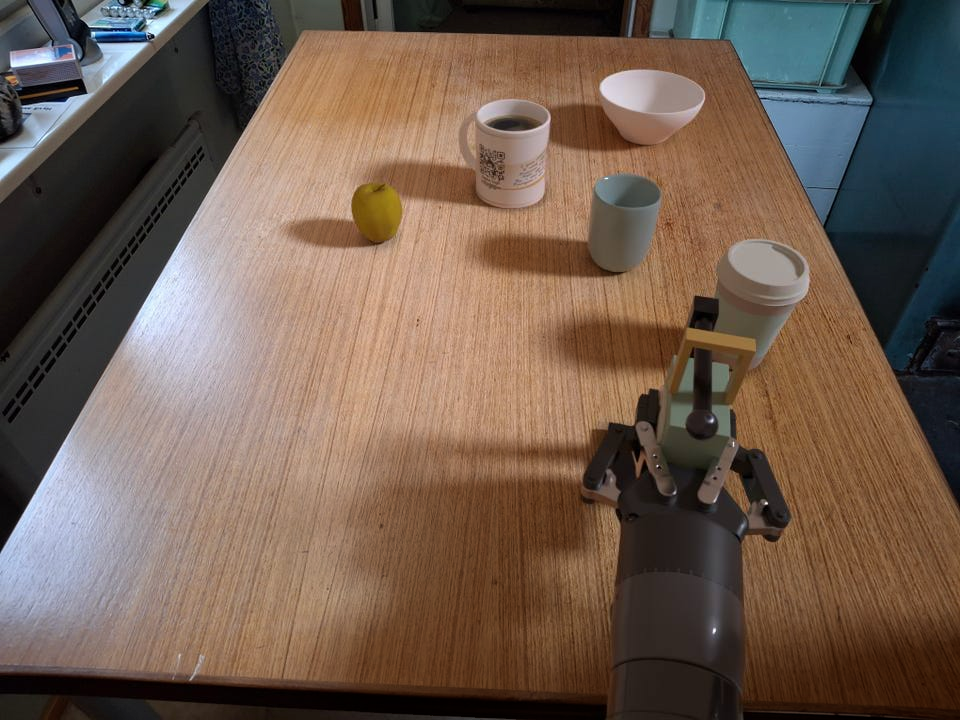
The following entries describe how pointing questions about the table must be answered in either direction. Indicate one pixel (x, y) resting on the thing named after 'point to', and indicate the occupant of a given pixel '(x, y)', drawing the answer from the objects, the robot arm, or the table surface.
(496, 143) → the mug
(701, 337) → the green box with handle
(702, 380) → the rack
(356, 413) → the table surface
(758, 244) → the coffee cup
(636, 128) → the bowl
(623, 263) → the cup
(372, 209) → the apple
